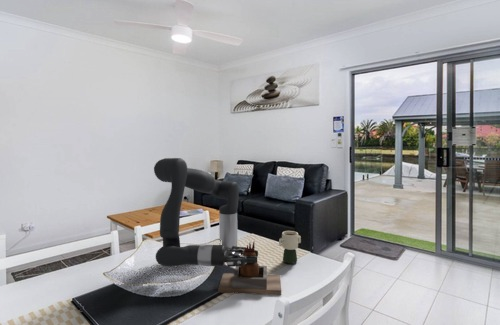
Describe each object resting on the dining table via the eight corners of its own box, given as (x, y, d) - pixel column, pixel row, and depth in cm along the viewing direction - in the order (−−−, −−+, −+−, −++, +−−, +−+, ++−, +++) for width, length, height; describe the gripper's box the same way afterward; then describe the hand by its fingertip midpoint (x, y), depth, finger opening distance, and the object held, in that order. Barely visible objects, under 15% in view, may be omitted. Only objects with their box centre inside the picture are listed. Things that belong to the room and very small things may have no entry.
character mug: (296, 257, 132) (296, 229, 131) (304, 263, 125) (305, 233, 124) (275, 261, 127) (275, 232, 127) (283, 267, 121) (283, 237, 120)
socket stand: (223, 276, 112) (223, 264, 112) (279, 278, 111) (280, 265, 110) (218, 292, 100) (218, 278, 100) (281, 294, 99) (281, 280, 98)
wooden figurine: (261, 279, 106) (260, 239, 105) (255, 286, 101) (254, 244, 100) (245, 276, 109) (244, 237, 108) (238, 282, 104) (237, 242, 103)
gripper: (207, 252, 98) (256, 253, 97) (215, 239, 113) (258, 239, 111) (207, 273, 99) (256, 275, 98) (215, 257, 113) (258, 258, 112)
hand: (257, 256), depth 104 cm, fingers open, 5 cm apart
